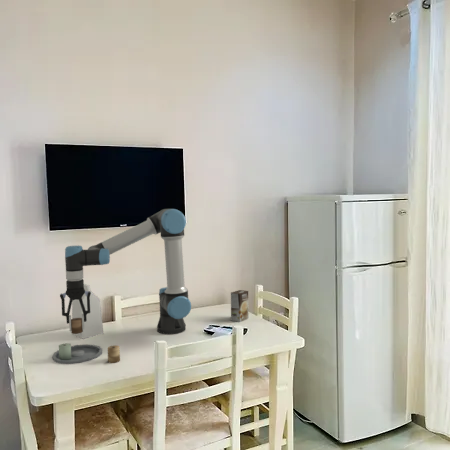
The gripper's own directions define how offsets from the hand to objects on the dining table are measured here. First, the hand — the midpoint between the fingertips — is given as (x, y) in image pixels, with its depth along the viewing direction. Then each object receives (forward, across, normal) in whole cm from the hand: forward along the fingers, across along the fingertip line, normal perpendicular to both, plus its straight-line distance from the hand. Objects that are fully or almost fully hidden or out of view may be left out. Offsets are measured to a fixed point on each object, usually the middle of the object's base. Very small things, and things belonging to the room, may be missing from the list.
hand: (77, 329), depth 197 cm
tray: (+11, 0, +6) cm, 12 cm away
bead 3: (+11, -15, +18) cm, 26 cm away
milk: (+11, -5, -26) cm, 29 cm away
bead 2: (+1, 0, 0) cm, 1 cm away
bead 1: (+10, +5, +9) cm, 14 cm away
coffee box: (+11, -88, -20) cm, 90 cm away
